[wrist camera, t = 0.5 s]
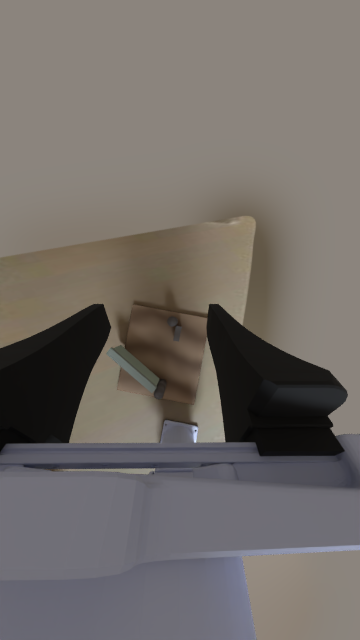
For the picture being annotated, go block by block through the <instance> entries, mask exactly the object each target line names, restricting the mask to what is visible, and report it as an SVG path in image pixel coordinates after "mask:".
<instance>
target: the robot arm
mask: <svg viewBox="0 0 360 640" xmlns="http://www.w3.org/2000/svg"><path fill="white" fill-rule="evenodd" d="M110 329H111V326H110V323H109V320H108V317H107V314H106V311H105V308H104V305H103V304H93V305H91V306H89V307H87V308H85V309H83V310H81V311H80V312H78V313H76V314H74V315H73V316H71V317H69V318H67V319H66V320H64V321H62V322H60V323H58V324H56V325H54V326H52V327H50V328H48V329H46V330H44V331H42V332H40V333H38V334H36V335H33V336H31V337H29V338H26V339H24V340H21V341H19V342H16V343H14V344H11V345H8V346H6V347H3V348H0V640H257V639H256V634H255V628H254V622H253V617H252V611H251V605H250V600H249V594H248V588H247V583H246V577H245V572H244V566H243V560H242V556H253V555H272V554H290V553H309V552H327V551H346V550H360V434H343V435H338V436H335V435H334V434H333V433H332V431H331V429H330V428H331V427H333V423H332V422H331V420H330V419H329V418H328V415H329V414H330V413H332V412H333V411H334V410H336V409H337V408H338V407H340V406H341V405H342V404H343V403H344V402H345V401H346V398H347V396H348V394H347V391H346V389H345V388H344V387H343V386H342V385H341V384H340V383H339V381H338V380H337V379H336V378H335V377H334V376H333V375H332V374H331V372H330V371H328V370H326V369H323V368H321V367H318V366H316V365H313V364H311V363H308V362H306V361H303V360H301V359H299V358H296V357H295V356H292V355H290V354H288V353H286V352H284V351H282V350H280V349H278V348H276V347H274V346H273V345H271V344H269V343H267V342H265V341H264V340H262V339H261V338H259V337H258V336H256V335H254V334H253V333H252V332H250V331H248V330H247V329H246V328H245V327H244V326H242V325H241V324H240V323H239V322H237V321H236V320H235V319H234V318H233V317H232V316H231V315H229V314H228V313H227V312H226V311H225V310H224V309H223V308H222V307H221V306H220V305H219V304H209V310H208V318H207V325H206V330H207V338H208V342H209V346H210V350H211V354H212V357H213V361H214V365H215V369H216V373H217V379H218V386H219V393H220V399H221V407H222V415H223V423H224V432H225V441H226V442H225V443H196V438H197V433H198V426H195V425H190V424H185V423H180V422H175V421H170V420H165V421H164V425H163V430H162V436H161V441H160V443H69V440H70V436H71V432H72V429H73V425H74V421H75V417H76V414H77V411H78V408H79V404H80V401H81V398H82V395H83V392H84V389H85V386H86V384H87V381H88V379H89V376H90V373H91V371H92V369H93V367H94V365H95V363H96V361H97V359H98V357H99V355H100V353H101V351H102V349H103V347H104V345H105V343H106V341H107V339H108V336H109V333H110ZM165 424H167V425H165ZM195 430H196V431H195ZM115 468H155V473H154V471H151V472H150V473H149V474H148V475H146V474H126V473H120V472H103V471H51V470H44V469H115Z"/></svg>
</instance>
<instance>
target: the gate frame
mask: <svg viewBox="0 0 360 640" xmlns="http://www.w3.org/2000/svg"><path fill="white" fill-rule="evenodd" d="M206 325H207V318H204V317H199V316H194V315H188V314H183V313H177V312H172V311H166V310H161V309H156V308H150V307H145V306H139V305H134V304H133V307H132V312H131V317H130V323H129V328H128V333H127V339H126V344H125V349H126V350H127V351H128V352H129V353H131V354H132V355H133V356H134V357H135V358H136V359H138V360H139V361H140V362H141V363H142V364H143V365H144V366H146V367H147V368H148V369H149V370H150V371H151V372H153V373H154V374H155V375H156V376H157V377H158V378H159V381H158V384H157V388H156V389H155V391H154V392H153V393H151V392H150V391H148V390H147V389H146V388H145V387H144V386H143V385H142V384H140V383H139V382H138V381H137V380H136V379H135V378H134V377H132V376H131V375H130V374H129V373H128V372H127V371H125V370H124V369H123V368H122V367H121V371H120V376H119V381H118V387H117V390H120V391H125V392H130V393H136V394H141V395H146V396H151V397H155V398H156V399H166V400H172V401H177V402H182V403H187V404H192V405H194V402H195V397H196V391H197V386H198V380H199V375H200V370H201V364H202V359H203V353H204V348H205V342H206V337H207V330H206Z"/></svg>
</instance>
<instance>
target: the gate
mask: <svg viewBox="0 0 360 640" xmlns="http://www.w3.org/2000/svg"><path fill="white" fill-rule="evenodd" d="M106 354H107V355H108V356H109V357H111V358H112V359H113V360H114V361H115V362H116V363H117V364H119V365H120V366H121V367H122V368H123V369H124V370H125V371H127V372H128V373H129V374H130V375H131V376H132V377H134V378H135V379H136V380H137V381H138V382H139V383H140V384H142V385H143V386H144V387H145V388H146V389H147V390H148V391H150V392H151V393H153V392H154V391H155V389H156V388H157V384H158V381H159V378H158V377H157V376H156V375H155V374H154V373H153V372H151V371H150V370H149V369H148V368H147V367H146V366H144V365H143V364H142V363H141V362H140V361H139V360H138V359H136V358H135V357H134V356H133V355H132V354H131V353H129V352H128V351H127V350H126V349H125V348H124V347H123V346H121V345H120V346H117V347H115V348H110V349H109V351H108V352H107V353H106Z"/></svg>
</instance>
